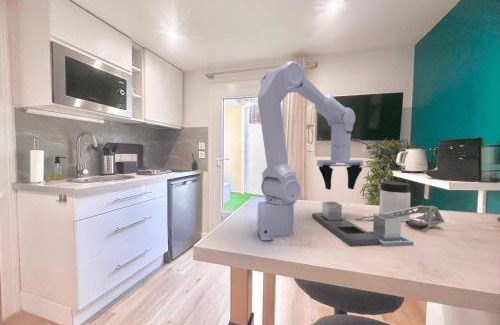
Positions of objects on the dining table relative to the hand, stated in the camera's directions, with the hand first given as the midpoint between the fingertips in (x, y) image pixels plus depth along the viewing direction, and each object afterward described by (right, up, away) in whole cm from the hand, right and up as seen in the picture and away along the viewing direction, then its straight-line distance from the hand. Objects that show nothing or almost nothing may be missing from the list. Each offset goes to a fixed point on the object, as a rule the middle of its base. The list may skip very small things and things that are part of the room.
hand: (339, 188), depth 71 cm
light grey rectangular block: (+4, -11, -17) cm, 21 cm away
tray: (+4, -11, -17) cm, 21 cm away
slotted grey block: (-4, -10, -5) cm, 12 cm away
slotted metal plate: (-4, -11, -10) cm, 15 cm away
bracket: (+16, -11, -4) cm, 20 cm away
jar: (+20, -11, +4) cm, 23 cm away
